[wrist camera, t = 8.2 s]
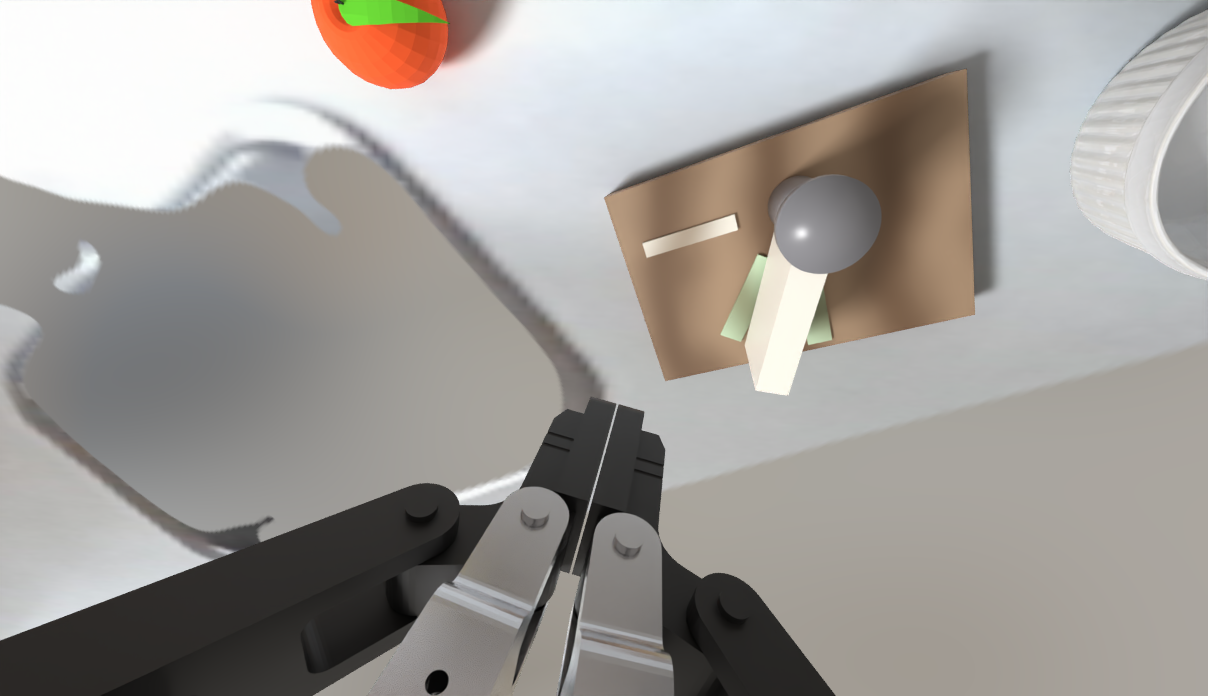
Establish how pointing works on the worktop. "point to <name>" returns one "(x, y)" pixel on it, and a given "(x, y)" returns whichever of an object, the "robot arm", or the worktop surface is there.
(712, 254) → the board
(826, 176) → the knob
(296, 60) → the worktop surface
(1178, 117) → the ramekin
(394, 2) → the clementine
